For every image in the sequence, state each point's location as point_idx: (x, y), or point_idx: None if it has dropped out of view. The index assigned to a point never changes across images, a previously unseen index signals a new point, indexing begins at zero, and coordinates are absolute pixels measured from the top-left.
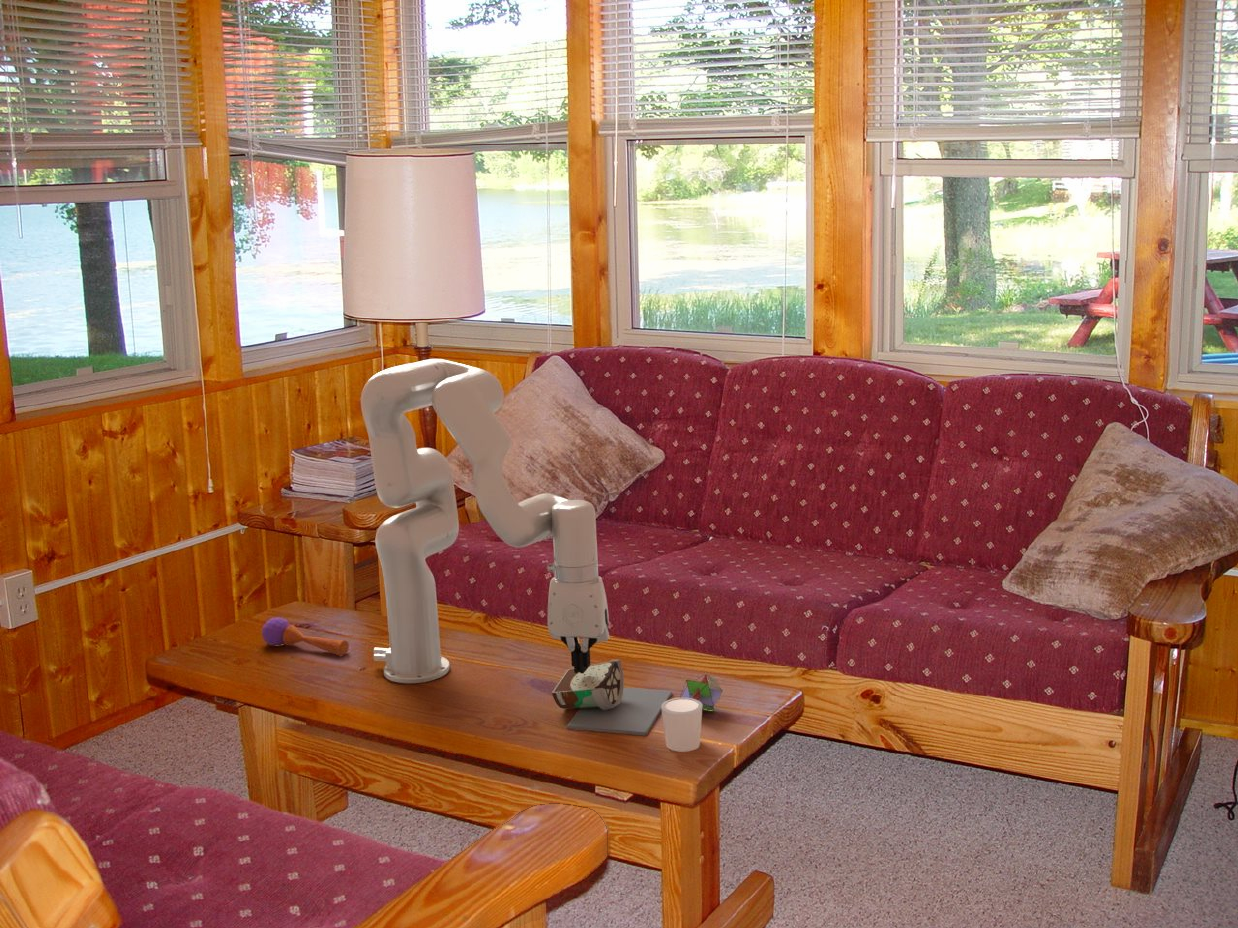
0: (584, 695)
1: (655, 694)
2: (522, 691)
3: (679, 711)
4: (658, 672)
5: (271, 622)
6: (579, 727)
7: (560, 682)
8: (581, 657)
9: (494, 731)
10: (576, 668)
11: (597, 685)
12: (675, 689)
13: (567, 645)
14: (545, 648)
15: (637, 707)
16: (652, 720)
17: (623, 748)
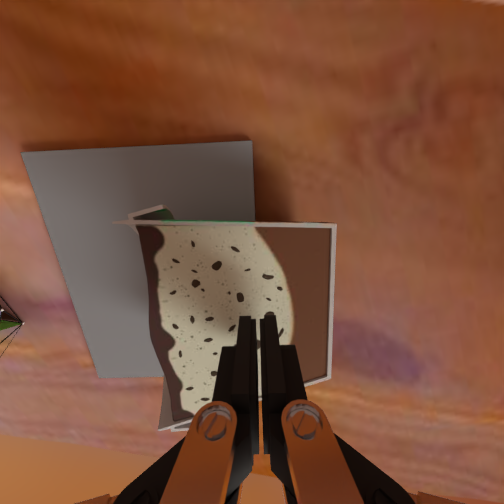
0: (210, 220)
1: (122, 357)
2: (428, 325)
3: None
4: (176, 442)
5: None
6: (214, 142)
7: (328, 300)
8: (236, 368)
9: (468, 59)
10: (266, 325)
11: (159, 255)
12: (108, 390)
13: (340, 444)
14: (416, 487)
15: (124, 291)
16: (48, 229)
17: (33, 41)
